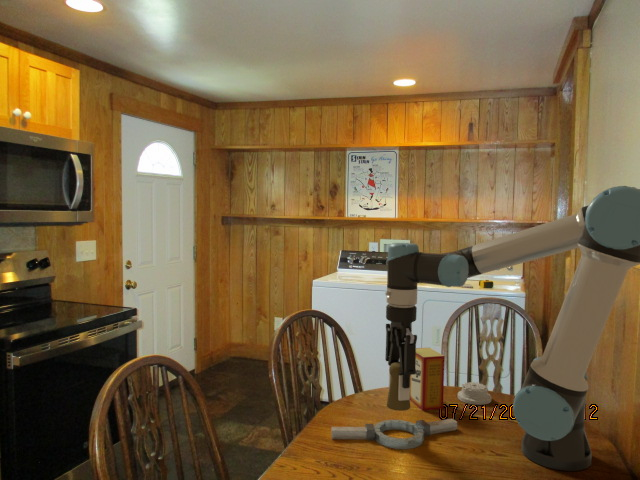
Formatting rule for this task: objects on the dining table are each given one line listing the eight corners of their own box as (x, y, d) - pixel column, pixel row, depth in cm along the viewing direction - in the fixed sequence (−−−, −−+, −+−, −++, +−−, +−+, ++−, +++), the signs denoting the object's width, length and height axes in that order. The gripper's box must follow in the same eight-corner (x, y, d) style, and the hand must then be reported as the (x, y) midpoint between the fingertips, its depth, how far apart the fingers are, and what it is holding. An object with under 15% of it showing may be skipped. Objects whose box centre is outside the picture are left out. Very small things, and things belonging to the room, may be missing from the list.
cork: (408, 412, 126) (409, 368, 125) (384, 408, 128) (385, 365, 127) (412, 403, 132) (413, 361, 131) (389, 400, 134) (390, 358, 133)
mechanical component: (458, 404, 154) (493, 407, 152) (458, 389, 154) (493, 392, 152) (456, 392, 164) (489, 395, 162) (457, 379, 164) (489, 381, 161)
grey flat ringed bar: (454, 426, 137) (455, 416, 137) (469, 449, 124) (470, 438, 124) (330, 425, 137) (330, 415, 137) (332, 448, 124) (332, 437, 124)
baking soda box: (408, 398, 157) (410, 347, 156) (428, 397, 159) (429, 346, 158) (422, 410, 148) (424, 356, 147) (443, 408, 150) (444, 354, 149)
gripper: (373, 298, 136) (371, 384, 138) (403, 312, 119) (400, 410, 120) (399, 297, 138) (397, 382, 140) (432, 311, 121) (429, 407, 122)
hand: (398, 395), depth 130 cm, fingers closed on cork, 5 cm apart
